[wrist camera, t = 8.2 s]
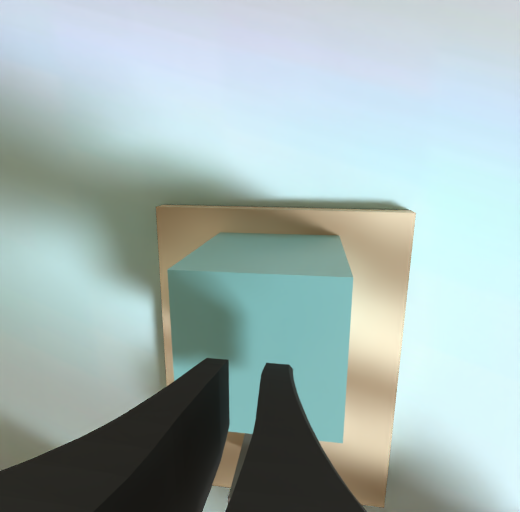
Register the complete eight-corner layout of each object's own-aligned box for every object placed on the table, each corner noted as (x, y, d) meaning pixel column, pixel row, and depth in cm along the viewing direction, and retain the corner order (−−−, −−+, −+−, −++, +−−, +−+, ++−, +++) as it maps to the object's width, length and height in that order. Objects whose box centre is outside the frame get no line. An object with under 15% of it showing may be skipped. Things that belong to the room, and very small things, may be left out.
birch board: (380, 492, 21) (408, 629, 15) (178, 466, 23) (126, 581, 16) (410, 210, 17) (463, 236, 11) (163, 204, 19) (89, 224, 13)
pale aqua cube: (333, 347, 18) (342, 443, 12) (222, 339, 19) (176, 426, 13) (339, 235, 17) (353, 277, 11) (220, 232, 18) (167, 269, 11)
